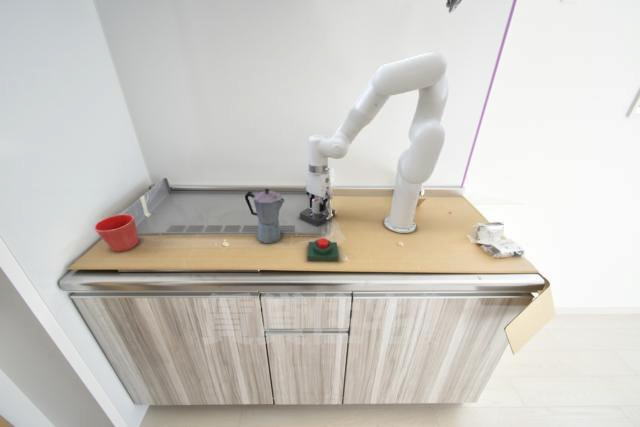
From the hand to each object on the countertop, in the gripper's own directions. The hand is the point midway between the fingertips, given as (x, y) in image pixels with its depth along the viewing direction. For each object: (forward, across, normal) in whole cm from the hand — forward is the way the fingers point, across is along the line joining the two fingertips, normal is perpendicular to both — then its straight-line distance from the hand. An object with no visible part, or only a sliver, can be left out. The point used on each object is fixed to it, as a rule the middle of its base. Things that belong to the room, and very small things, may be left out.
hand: (317, 208), depth 103 cm
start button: (+1, -18, +18) cm, 25 cm away
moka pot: (+5, +4, +24) cm, 25 cm away
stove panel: (+4, 0, 0) cm, 4 cm away
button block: (+4, -18, +18) cm, 26 cm away
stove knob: (+1, 0, 0) cm, 1 cm away
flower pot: (+5, +38, +61) cm, 72 cm away
